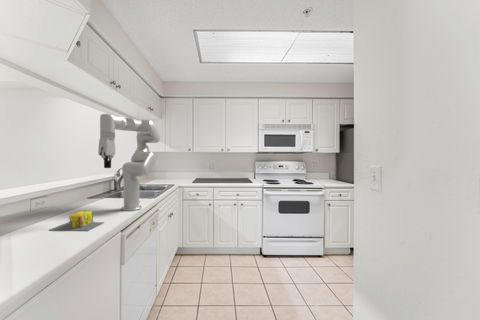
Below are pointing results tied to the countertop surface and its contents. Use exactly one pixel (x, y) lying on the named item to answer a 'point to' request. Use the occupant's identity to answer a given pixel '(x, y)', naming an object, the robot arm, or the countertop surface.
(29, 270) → the countertop surface
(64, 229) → the topple mat
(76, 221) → the supplement box
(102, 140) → the robot arm
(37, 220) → the countertop surface
